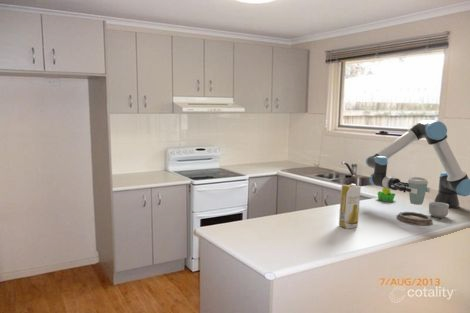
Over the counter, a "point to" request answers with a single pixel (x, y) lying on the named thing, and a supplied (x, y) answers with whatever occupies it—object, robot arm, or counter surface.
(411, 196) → the disposable coffee cup
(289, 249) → the counter surface
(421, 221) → the ring board
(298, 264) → the counter surface
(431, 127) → the robot arm
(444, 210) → the teacup
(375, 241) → the counter surface
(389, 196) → the fruit basket
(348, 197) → the juice carton
